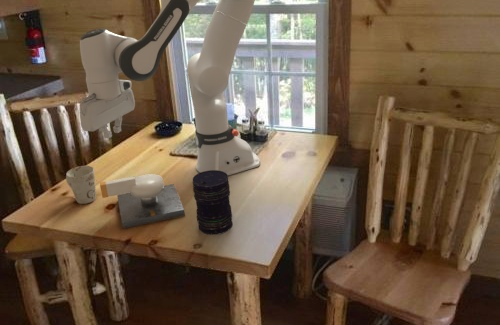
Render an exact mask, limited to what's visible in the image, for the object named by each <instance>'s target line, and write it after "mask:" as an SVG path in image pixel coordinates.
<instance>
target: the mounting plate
mask: <svg viewBox="0 0 500 325" xmlns="http://www.w3.org/2000/svg"><path fill="white" fill-rule="evenodd" d="M116 197H117V202H118V207H119V214H120V215H119V216H120V220H121V226H122V229H128V228H134V227H137V226H142V225H146V224H147V225H148V224H152V223H157V222H160V221H161V222H162V221H166V220H170V219H175V218H180V217H184V216H186V211H185V208H184V206H183V203H182V201H181V198H180V196H179V194H178V191H177V189H176V186H175V183H172V184H166V185H164V190H163V192H162V193H160V194H159V195H157V196H154V197H151V198H144V199H141V198H135V197H133V196H132V195H131V193H130V192H129V193H124V194H119V195H116Z"/></svg>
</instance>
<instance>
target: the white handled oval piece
mask: <svg viewBox="0 0 500 325" xmlns="http://www.w3.org/2000/svg"><path fill="white" fill-rule="evenodd" d="M164 186H165V185H164V179H163V177H162V176H161V175H159V174H154V173H149V174H148V173H147V174H141V175H137V176H136V177H135V176H128V177H123V178H116V179H113V180H107V181H101V182H99V187H100V192H101V195H102V199H105V198H108V197H109V198H110V197H113V196H117V195H120V194H125V193H131V195H132V196H133V197H135V198H141V199H144V198H151V197H154V196H157V195H159V194H160V193H162V192H163V190H164Z"/></svg>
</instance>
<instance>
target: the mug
mask: <svg viewBox="0 0 500 325" xmlns="http://www.w3.org/2000/svg"><path fill="white" fill-rule="evenodd" d="M95 178H96V177H95V169H94V167H93V166H91V165H81V166H76V167H73V168H71V169H69V170H68V171H67V172H66V176H65V179H66V184H67V185H68V186H69V188H70V189H71V190H72V193H73V196H74V198H75V201H76V202H77V203H78V204H80V205H83V204H89V203H92V202H94V201H96V198H97V191H96V179H95Z"/></svg>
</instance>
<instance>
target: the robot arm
mask: <svg viewBox="0 0 500 325" xmlns="http://www.w3.org/2000/svg"><path fill="white" fill-rule="evenodd" d="M199 2H200V0H160V3H161V6H160V11H159V14H158V15H157V16H156V18H155V19H154V21H153V22H152V24H151V25H150V27H149V28H148V29H147V31H146V33H145V34H143V36H142V37H141V38H140V39H136V38H134V37H130V36H123V35H119V34H116V33H114V32H112V31H109V30H108V29H106V28H96V29H92V30H90V31H88V32H85V33H83V34H82V36H81V37H80V39H79V51H80V58H81V64H82V67H83V68H84V72H85V84H86V86H87V92H88V96H87V97H86V96H85V97H83V98H82V99H81V101H80V103H79V120H80V126H81V127H80V128H82V130H83V131H86V132H95V131H97V130H98V129H99V130H100V131H101V132H102V133H103V137H104V138H105V139H110V138H112V137H113V134H112V131H111V130H109V129H108V127H109V124H110V123H112V122H114V126H112V129H113V132H114V133H115V134H118V133H120V132H122V122H123V116H124V115H126V114H129V113H130V112H132V111H134V110H135V107H136V102H135V96H134V92H133V90H132V87H133V86H132V85H133V84H132V81H134V82H144V81H147V80H149V79H151V78H152V77H153V76H154V75H155V74H156V72H157V70H158V69H159V66H160V62H161V58H162V56H163V54H164V52H165V50H166V48H167V47H168V45H169V44H170V43H171V41H172V40H173V38H174V37H175V36H176V33H177V32H178V31H179V29H180V28H181V26H182V25H183V23H184V22H185V20H186V19H187V18H188V16H189V15H190V13H191V11H192V10H193V9H194V8H195V6H196V5H197V4H198V3H199ZM255 2H256V1H255V0H218V2H217V4H216V7H215V9H214V11H213V13H212V16H211V18H210V21H209V23H208V25H207V27H206V30H205V33H204V38H203V42H202V47H201V50H200V52H197V53H195V54H193V55H192V56H191V57H190V58H189V59H188V62H187V66H186V73H187V77H188V78H187V79H188V83H189V85H188V86H189V91H190V95H191V96H190V97H191V101H192V105H193V112H194V121H195V122H194V123H195V134H194V135H195V142H196V146H197V159H196V160H197V162H196V166H195V169H196V171H197V172H198V173H201V172H204V171H210V170H218V171H223V172H225V173H226V174H227V175H228V176H231V175H234V174H237V173H241V172H244V171H247V170H251V169H255V168H257V167H259V166H260V164H261V160H260V158H259V156H258V155H257V154H256V153H255V152H254V151H252V147H251V146H250V144H249V143H248V142H247V141H246V140H244V139H242V138H240V137H238V136H239V134H240V133H239V130H237V129H236V128H234V127H233V126H231V125H230V124H229V119H228V118H229V117H228V105H227V103H226V99H225V94H224V92H225V91H226V89H227V88H228V87H229V86H228V85H229V79H230V78H229V77H230V74H231V71H232V67H233V63H234V59H235V55H236V53H237V52H236V51H237V49H238V46H239V44H240V41H241V39H242V37H243V35H244V32H245V29H246V28H247V25H248V22H249V20H250V17H251V15H252V12H253V8H254V4H255ZM121 73H123V74H124V76H126V77H127V78H128V79H129V80H126V79H121V78H120V79H119V74H121ZM131 80H132V81H131Z"/></svg>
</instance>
